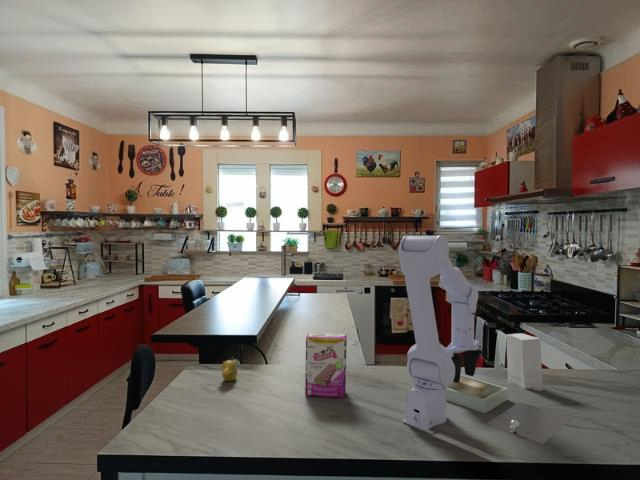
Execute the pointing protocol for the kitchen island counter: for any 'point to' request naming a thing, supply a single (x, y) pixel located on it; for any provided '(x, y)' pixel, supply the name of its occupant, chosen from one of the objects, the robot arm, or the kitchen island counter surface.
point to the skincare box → (524, 361)
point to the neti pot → (229, 370)
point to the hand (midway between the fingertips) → (462, 378)
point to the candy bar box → (326, 365)
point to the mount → (530, 422)
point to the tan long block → (470, 387)
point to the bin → (482, 405)
